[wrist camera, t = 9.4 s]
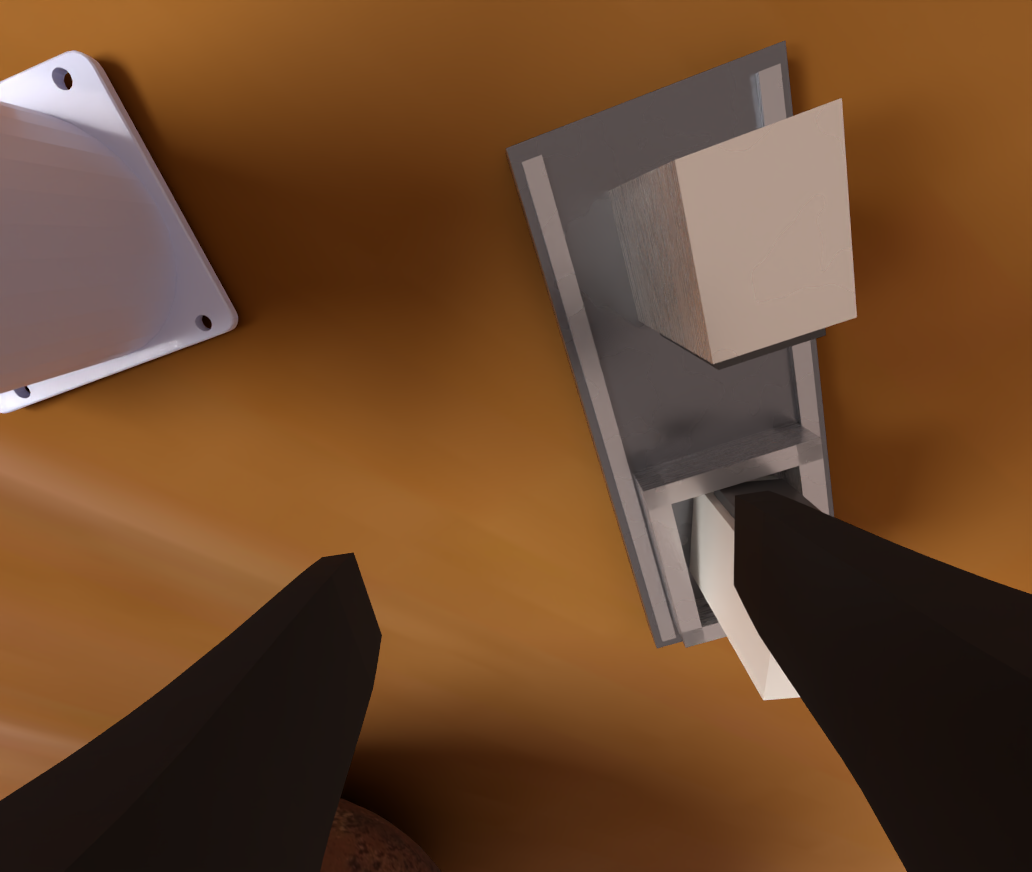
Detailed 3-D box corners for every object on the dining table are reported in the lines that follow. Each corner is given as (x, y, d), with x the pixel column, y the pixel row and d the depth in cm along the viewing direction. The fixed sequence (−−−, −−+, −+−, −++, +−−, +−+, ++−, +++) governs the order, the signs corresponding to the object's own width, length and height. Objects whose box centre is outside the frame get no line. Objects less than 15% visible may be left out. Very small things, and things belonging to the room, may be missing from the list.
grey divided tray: (650, 631, 22) (712, 793, 16) (505, 153, 15) (509, 86, 8) (827, 582, 21) (970, 731, 15) (766, 53, 14) (993, -107, 8)
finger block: (689, 569, 20) (763, 700, 14) (695, 472, 18) (782, 576, 12) (763, 563, 20) (866, 691, 14) (775, 465, 18) (899, 566, 12)
